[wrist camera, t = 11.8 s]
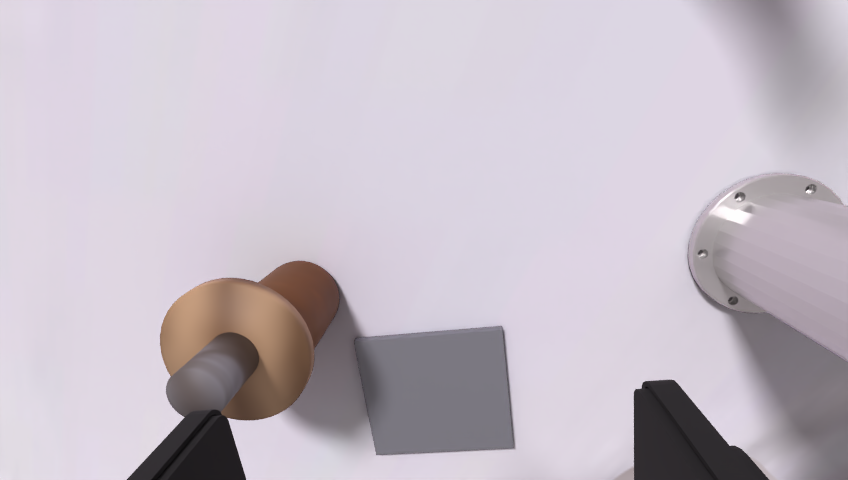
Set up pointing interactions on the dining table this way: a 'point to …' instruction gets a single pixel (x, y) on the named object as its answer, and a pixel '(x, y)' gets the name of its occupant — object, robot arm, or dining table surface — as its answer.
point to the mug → (307, 293)
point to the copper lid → (235, 350)
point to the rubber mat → (436, 390)
